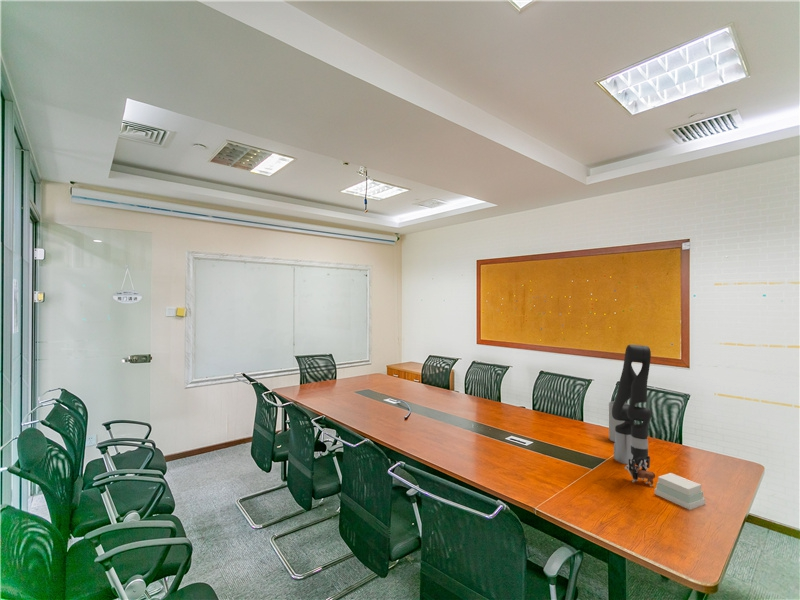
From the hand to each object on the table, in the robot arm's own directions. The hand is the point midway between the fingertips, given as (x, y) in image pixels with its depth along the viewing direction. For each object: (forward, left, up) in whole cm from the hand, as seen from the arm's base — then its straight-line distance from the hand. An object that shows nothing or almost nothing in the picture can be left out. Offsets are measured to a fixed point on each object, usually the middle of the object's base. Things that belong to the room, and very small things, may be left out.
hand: (639, 477), depth 187 cm
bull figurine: (0, 0, -3) cm, 3 cm away
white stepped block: (+18, +1, -3) cm, 18 cm away
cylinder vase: (-42, +46, -3) cm, 62 cm away
